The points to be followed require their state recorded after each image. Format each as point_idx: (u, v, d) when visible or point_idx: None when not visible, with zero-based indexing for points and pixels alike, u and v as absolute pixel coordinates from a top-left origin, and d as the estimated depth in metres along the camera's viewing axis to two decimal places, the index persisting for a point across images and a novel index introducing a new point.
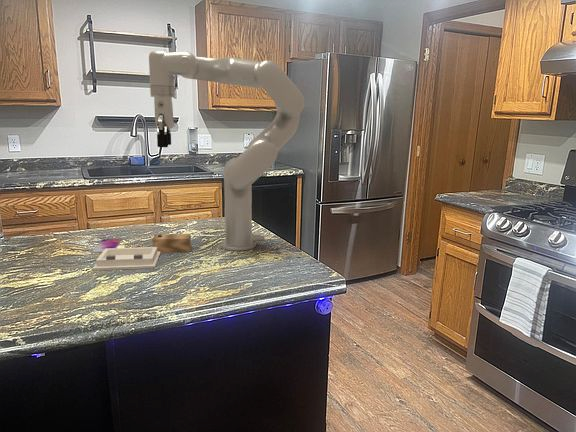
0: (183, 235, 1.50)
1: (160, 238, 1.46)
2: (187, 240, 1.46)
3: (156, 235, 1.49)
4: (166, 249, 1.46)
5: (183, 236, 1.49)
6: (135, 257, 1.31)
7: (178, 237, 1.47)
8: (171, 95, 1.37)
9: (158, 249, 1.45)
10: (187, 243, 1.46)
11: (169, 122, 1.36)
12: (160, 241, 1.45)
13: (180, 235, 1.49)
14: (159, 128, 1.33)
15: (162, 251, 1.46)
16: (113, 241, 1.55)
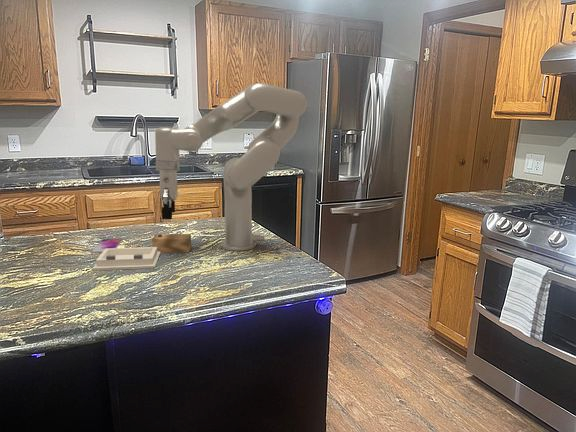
0: (184, 235, 1.49)
1: (160, 238, 1.46)
2: (186, 240, 1.46)
3: (157, 235, 1.49)
4: (165, 249, 1.46)
5: (183, 236, 1.49)
6: (135, 257, 1.31)
7: (178, 237, 1.47)
8: (176, 169, 1.41)
9: (158, 249, 1.46)
10: (186, 243, 1.46)
11: (174, 195, 1.40)
12: (160, 241, 1.45)
13: (180, 235, 1.49)
14: (164, 203, 1.37)
15: (162, 251, 1.46)
16: (113, 241, 1.55)
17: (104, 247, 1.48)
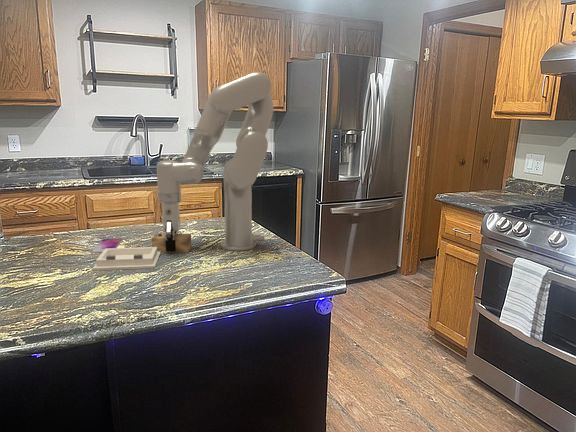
0: (183, 235, 1.49)
1: (159, 237, 1.46)
2: (186, 240, 1.45)
3: (157, 234, 1.49)
4: (164, 248, 1.46)
5: (183, 235, 1.48)
6: (135, 257, 1.31)
7: (177, 237, 1.47)
8: (178, 201, 1.43)
9: (157, 248, 1.46)
10: (185, 243, 1.46)
11: (176, 227, 1.43)
12: (159, 240, 1.45)
13: (180, 235, 1.49)
14: (167, 236, 1.41)
15: (161, 250, 1.46)
16: (113, 241, 1.55)
17: (104, 247, 1.49)
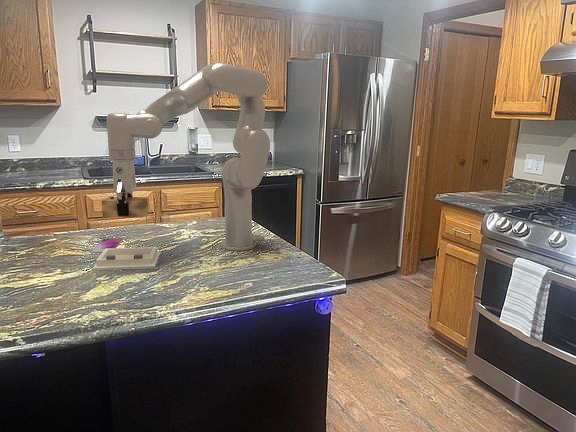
0: (139, 198, 1.33)
1: (111, 200, 1.30)
2: (140, 203, 1.29)
3: (109, 197, 1.34)
4: (116, 212, 1.30)
5: (138, 199, 1.32)
6: (135, 257, 1.31)
7: (131, 200, 1.31)
8: (131, 159, 1.27)
9: (108, 212, 1.30)
10: (139, 206, 1.30)
11: (129, 188, 1.27)
12: (110, 203, 1.29)
13: (135, 198, 1.33)
14: (118, 198, 1.26)
15: (112, 214, 1.30)
16: (113, 241, 1.55)
17: (104, 247, 1.48)
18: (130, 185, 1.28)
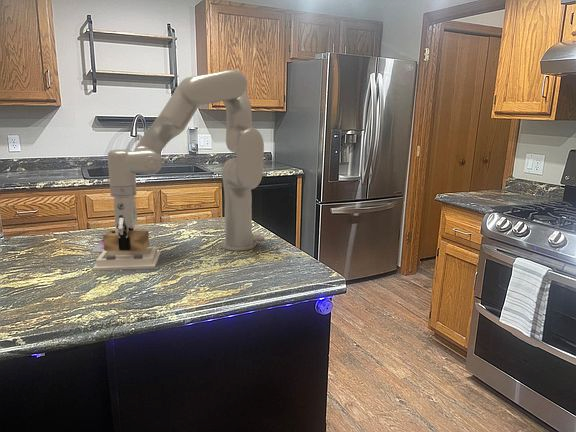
0: (140, 232, 1.35)
1: (112, 234, 1.32)
2: (141, 237, 1.32)
3: (110, 231, 1.36)
4: (118, 246, 1.32)
5: (139, 232, 1.35)
6: (135, 257, 1.31)
7: (132, 234, 1.33)
8: (132, 194, 1.30)
9: (109, 246, 1.32)
10: (140, 240, 1.32)
11: (130, 223, 1.29)
12: (112, 238, 1.31)
13: (136, 232, 1.35)
14: (120, 233, 1.28)
15: (114, 248, 1.32)
16: None
17: None
18: (131, 220, 1.30)
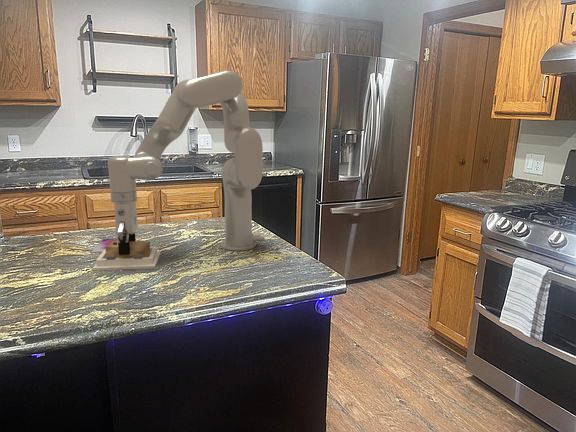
0: (141, 243, 1.37)
1: (114, 246, 1.33)
2: (143, 249, 1.33)
3: (112, 242, 1.37)
4: None
5: (141, 244, 1.36)
6: (135, 257, 1.31)
7: (134, 245, 1.34)
8: (132, 200, 1.30)
9: None
10: (143, 251, 1.33)
11: (130, 229, 1.30)
12: (114, 249, 1.32)
13: (138, 243, 1.37)
14: (119, 238, 1.27)
15: None
16: None
17: (104, 247, 1.49)
18: (132, 226, 1.30)
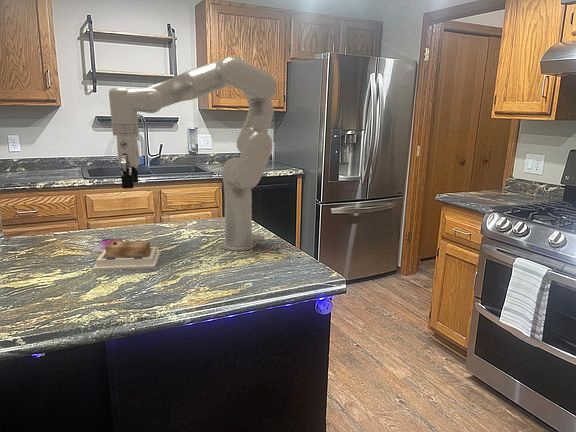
0: (141, 243, 1.37)
1: (114, 246, 1.33)
2: (143, 249, 1.33)
3: (112, 242, 1.37)
4: None
5: (141, 244, 1.36)
6: (135, 257, 1.31)
7: (134, 245, 1.34)
8: (135, 133, 1.29)
9: None
10: (143, 251, 1.33)
11: (133, 162, 1.29)
12: (114, 249, 1.32)
13: (138, 243, 1.37)
14: (123, 170, 1.26)
15: None
16: None
17: (104, 247, 1.49)
18: (135, 159, 1.29)
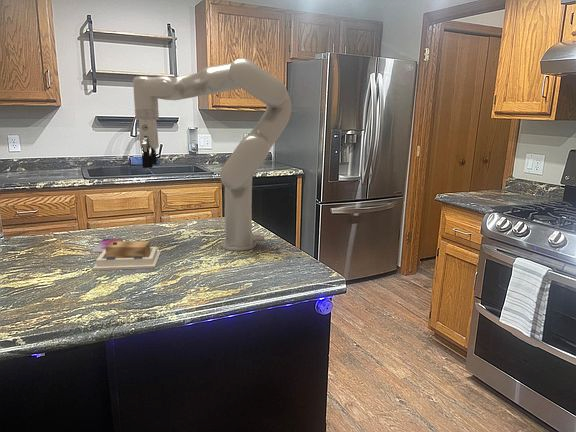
0: (141, 243, 1.37)
1: (114, 246, 1.33)
2: (143, 249, 1.33)
3: (112, 242, 1.37)
4: None
5: (141, 244, 1.36)
6: (135, 257, 1.31)
7: (134, 245, 1.34)
8: (155, 118, 1.42)
9: None
10: (143, 251, 1.33)
11: (153, 144, 1.42)
12: (114, 249, 1.32)
13: (138, 243, 1.37)
14: (143, 150, 1.39)
15: None
16: None
17: (104, 247, 1.49)
18: (154, 141, 1.43)
